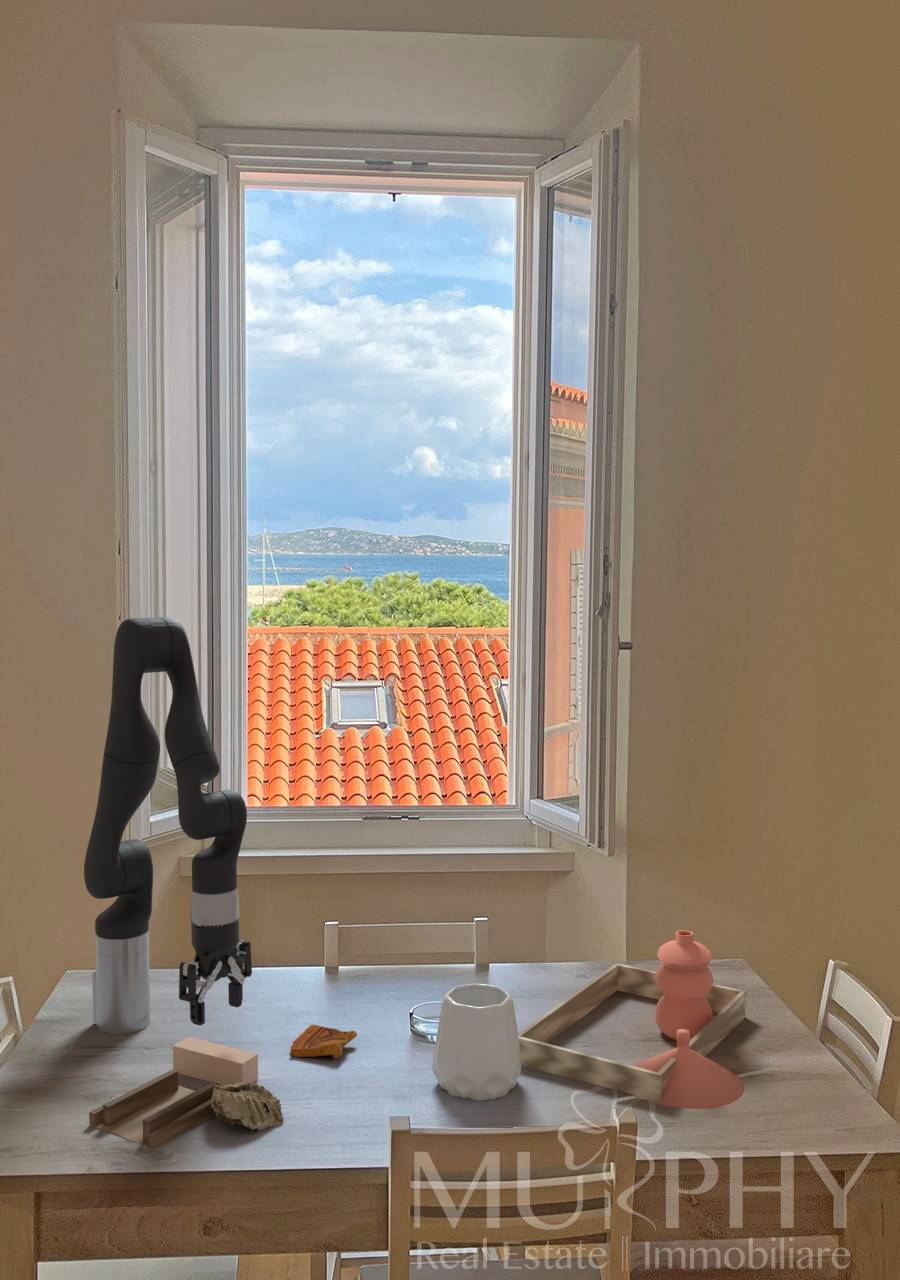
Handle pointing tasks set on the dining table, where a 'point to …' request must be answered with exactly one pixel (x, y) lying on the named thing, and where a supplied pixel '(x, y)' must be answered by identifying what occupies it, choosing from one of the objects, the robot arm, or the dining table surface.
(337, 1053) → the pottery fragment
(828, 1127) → the dining table surface
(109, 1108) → the tray
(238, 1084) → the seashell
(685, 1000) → the ceramic vessels
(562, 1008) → the vessel tray frame
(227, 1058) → the peach rectangular block
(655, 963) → the dining table surface
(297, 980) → the dining table surface
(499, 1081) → the vase
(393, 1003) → the dining table surface
